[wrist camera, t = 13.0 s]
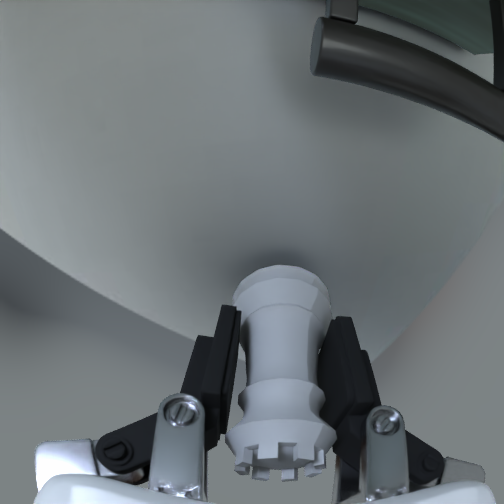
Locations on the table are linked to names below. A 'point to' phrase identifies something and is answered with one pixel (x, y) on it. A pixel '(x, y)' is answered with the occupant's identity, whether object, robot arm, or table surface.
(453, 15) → the drawer
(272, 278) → the rook chess piece
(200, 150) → the table surface
